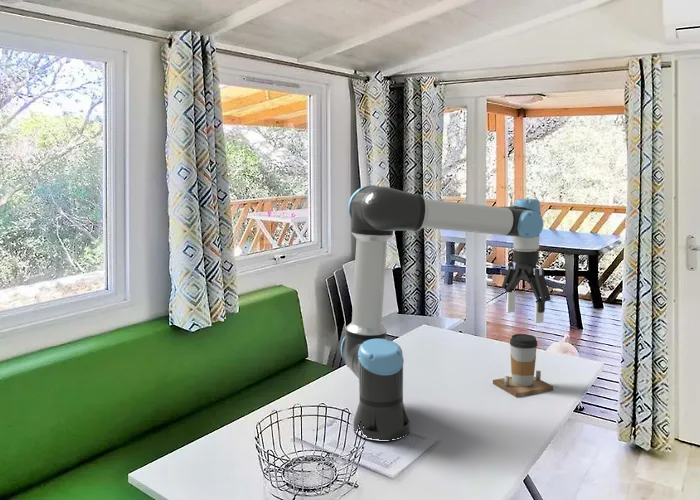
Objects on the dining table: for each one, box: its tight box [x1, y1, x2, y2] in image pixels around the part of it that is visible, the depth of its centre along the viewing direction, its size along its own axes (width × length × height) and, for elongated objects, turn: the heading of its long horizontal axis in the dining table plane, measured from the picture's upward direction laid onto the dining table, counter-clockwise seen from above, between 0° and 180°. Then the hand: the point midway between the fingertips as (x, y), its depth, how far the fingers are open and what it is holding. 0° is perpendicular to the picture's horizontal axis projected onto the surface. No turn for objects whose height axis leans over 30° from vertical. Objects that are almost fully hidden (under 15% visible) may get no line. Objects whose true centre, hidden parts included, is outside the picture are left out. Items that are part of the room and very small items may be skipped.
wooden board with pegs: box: [492, 370, 555, 398], centre depth 181 cm, size 14×12×4 cm
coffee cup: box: [509, 333, 538, 387], centre depth 180 cm, size 8×8×15 cm
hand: (524, 317), depth 178 cm, fingers open, 13 cm apart
